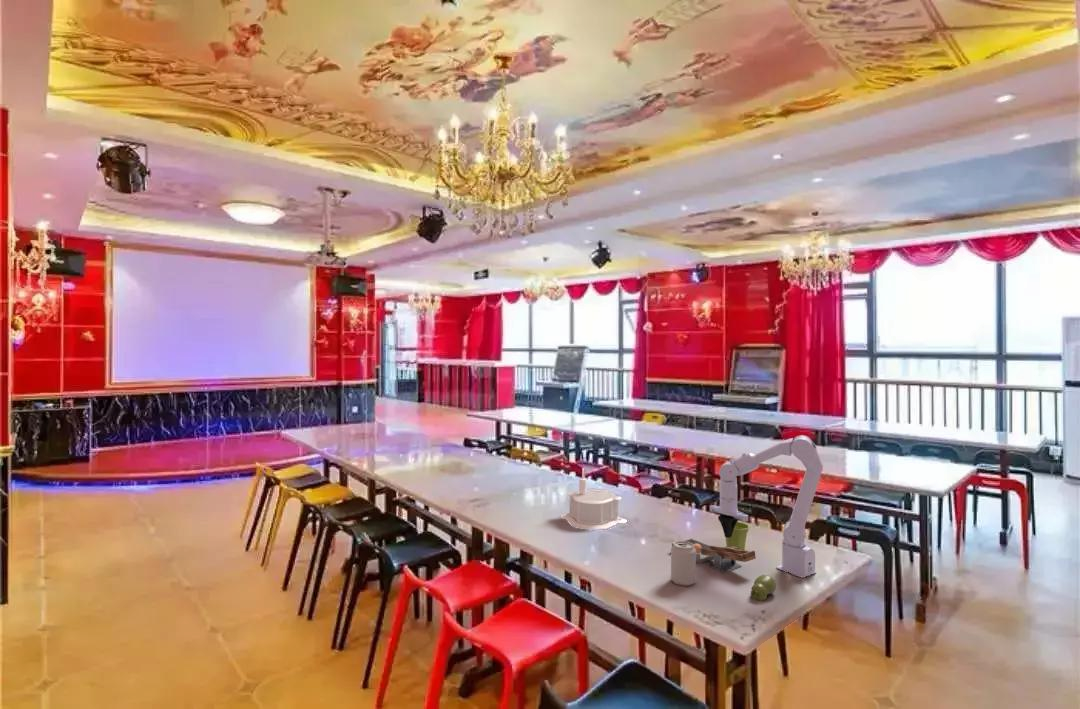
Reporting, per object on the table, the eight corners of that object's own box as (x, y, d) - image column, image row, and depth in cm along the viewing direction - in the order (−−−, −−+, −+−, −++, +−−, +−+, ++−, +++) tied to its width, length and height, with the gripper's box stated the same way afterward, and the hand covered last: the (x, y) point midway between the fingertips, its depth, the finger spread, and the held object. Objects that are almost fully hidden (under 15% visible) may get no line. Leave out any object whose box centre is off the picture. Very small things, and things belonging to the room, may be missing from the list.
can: (691, 576, 177) (691, 539, 177) (698, 587, 170) (699, 548, 170) (668, 577, 177) (668, 539, 177) (674, 587, 170) (674, 548, 169)
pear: (778, 575, 165) (763, 590, 159) (779, 591, 166) (764, 607, 159) (760, 569, 170) (745, 584, 163) (761, 585, 170) (746, 601, 164)
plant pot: (716, 545, 205) (716, 522, 205) (737, 542, 208) (737, 519, 208) (733, 554, 196) (733, 530, 196) (755, 551, 200) (755, 527, 200)
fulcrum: (741, 566, 186) (741, 552, 186) (723, 572, 181) (723, 558, 181) (726, 560, 191) (726, 547, 191) (708, 566, 186) (708, 552, 186)
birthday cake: (633, 513, 245) (633, 465, 245) (625, 534, 218) (625, 480, 218) (566, 507, 254) (567, 460, 253) (551, 527, 226) (551, 474, 226)
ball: (701, 555, 196) (705, 547, 195) (694, 557, 194) (698, 549, 193) (694, 547, 199) (698, 540, 197) (688, 549, 197) (691, 542, 195)
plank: (770, 554, 183) (769, 546, 183) (744, 562, 176) (743, 554, 176) (726, 547, 198) (725, 540, 198) (700, 554, 191) (699, 547, 191)
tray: (718, 557, 194) (718, 548, 194) (698, 563, 189) (698, 554, 189) (691, 546, 204) (691, 538, 204) (671, 551, 199) (671, 543, 199)
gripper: (753, 500, 188) (753, 540, 189) (719, 491, 200) (718, 528, 201) (740, 504, 184) (740, 544, 185) (705, 494, 197) (705, 532, 197)
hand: (728, 536), depth 192 cm, fingers closed
